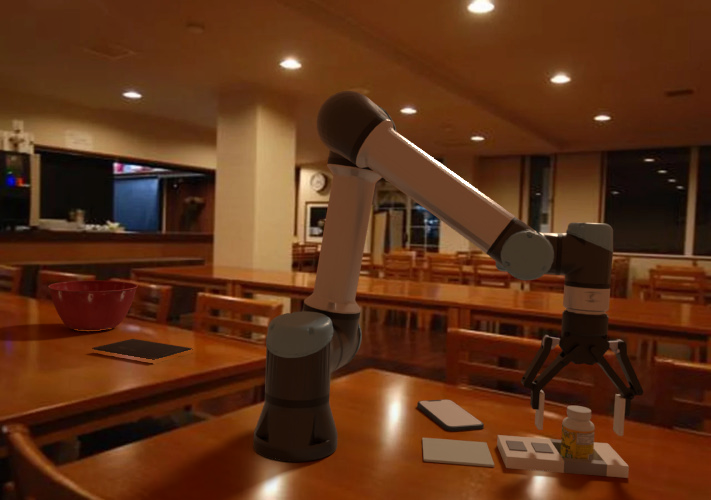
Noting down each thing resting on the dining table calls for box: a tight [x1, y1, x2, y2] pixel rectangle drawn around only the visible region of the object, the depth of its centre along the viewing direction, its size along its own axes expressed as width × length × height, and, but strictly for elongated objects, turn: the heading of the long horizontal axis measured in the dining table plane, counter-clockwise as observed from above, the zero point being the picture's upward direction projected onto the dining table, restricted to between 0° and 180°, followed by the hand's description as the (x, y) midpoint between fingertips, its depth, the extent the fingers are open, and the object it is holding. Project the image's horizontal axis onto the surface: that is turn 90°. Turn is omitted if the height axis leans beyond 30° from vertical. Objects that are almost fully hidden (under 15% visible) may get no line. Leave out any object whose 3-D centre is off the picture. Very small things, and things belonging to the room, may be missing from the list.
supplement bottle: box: [560, 405, 596, 460], centre depth 99 cm, size 5×5×10 cm
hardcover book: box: [91, 338, 194, 360], centre depth 165 cm, size 16×23×2 cm
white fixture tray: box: [496, 434, 630, 479], centre depth 100 cm, size 20×10×2 cm, turn 85°
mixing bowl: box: [47, 280, 139, 330], centre depth 197 cm, size 28×28×15 cm
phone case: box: [416, 398, 485, 432], centre depth 121 cm, size 9×2×16 cm
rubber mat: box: [421, 437, 495, 468], centre depth 102 cm, size 12×10×1 cm
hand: (578, 430), depth 99 cm, fingers open, 13 cm apart
